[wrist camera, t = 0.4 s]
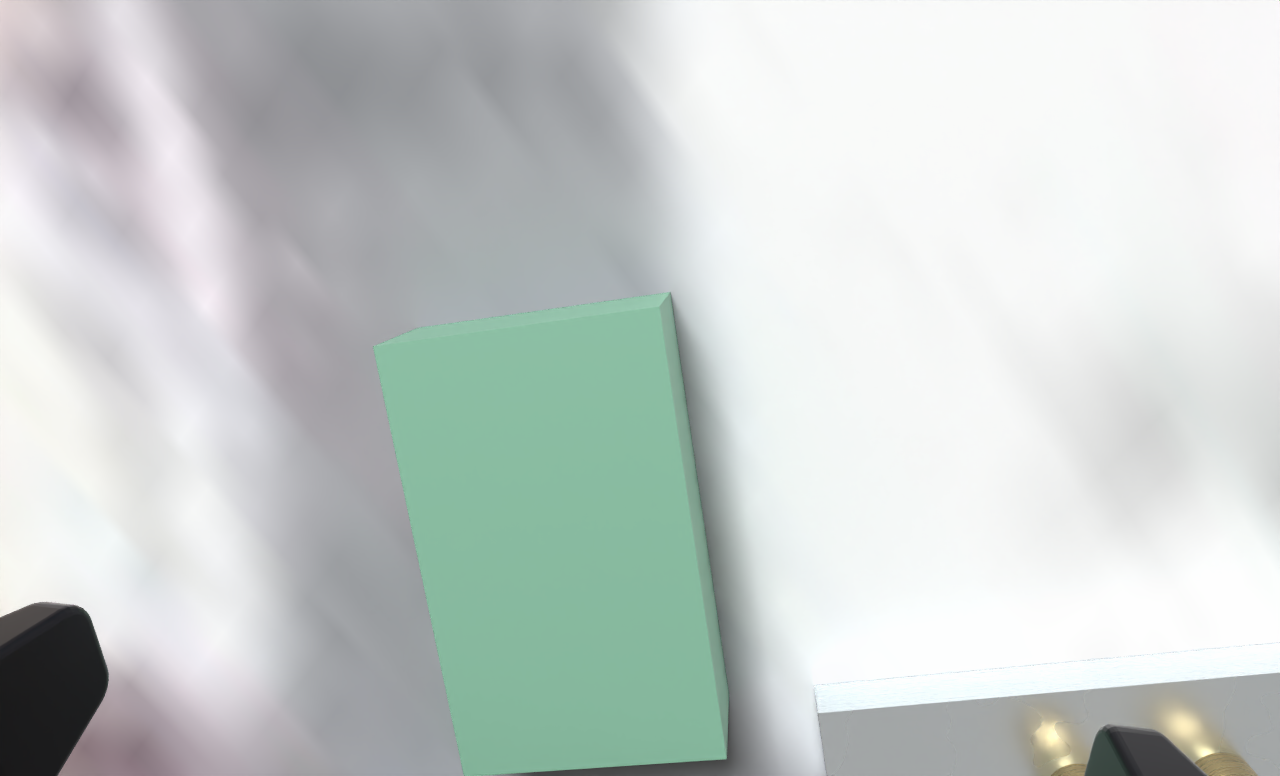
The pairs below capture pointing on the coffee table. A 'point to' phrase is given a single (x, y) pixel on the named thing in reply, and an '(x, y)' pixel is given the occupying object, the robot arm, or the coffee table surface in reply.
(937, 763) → the white peg board
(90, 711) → the robot arm
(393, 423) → the mint green rectangular block
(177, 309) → the coffee table surface
